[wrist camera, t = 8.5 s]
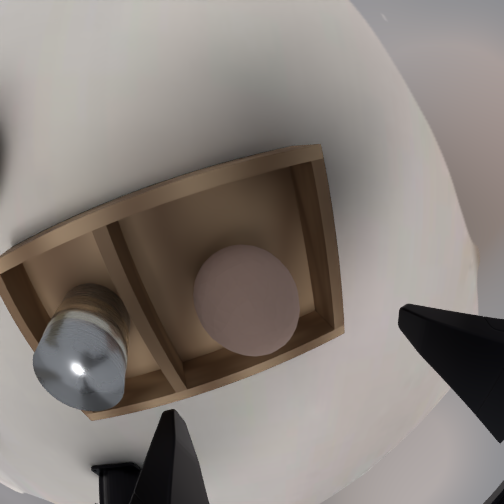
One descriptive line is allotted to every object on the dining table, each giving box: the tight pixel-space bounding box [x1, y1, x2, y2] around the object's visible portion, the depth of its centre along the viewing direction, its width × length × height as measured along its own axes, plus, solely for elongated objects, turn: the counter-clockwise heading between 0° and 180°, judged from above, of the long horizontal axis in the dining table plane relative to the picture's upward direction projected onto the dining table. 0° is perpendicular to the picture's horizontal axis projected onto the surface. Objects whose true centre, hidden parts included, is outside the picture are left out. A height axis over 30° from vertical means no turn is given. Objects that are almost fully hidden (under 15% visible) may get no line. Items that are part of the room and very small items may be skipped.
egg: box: [193, 244, 300, 357], centre depth 14 cm, size 5×5×7 cm
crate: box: [0, 144, 345, 421], centre depth 16 cm, size 20×13×4 cm, turn 104°
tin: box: [33, 283, 130, 411], centre depth 13 cm, size 5×5×6 cm
